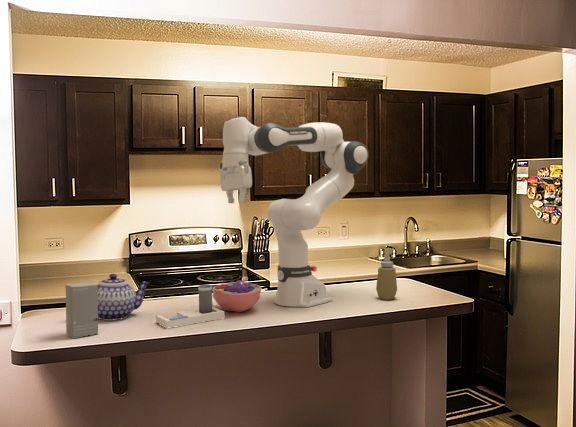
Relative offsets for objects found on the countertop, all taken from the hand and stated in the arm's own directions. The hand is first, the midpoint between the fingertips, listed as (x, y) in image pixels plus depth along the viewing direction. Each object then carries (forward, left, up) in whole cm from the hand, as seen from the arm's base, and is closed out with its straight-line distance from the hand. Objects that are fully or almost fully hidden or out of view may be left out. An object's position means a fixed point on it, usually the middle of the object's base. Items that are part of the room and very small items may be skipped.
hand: (236, 202), depth 207 cm
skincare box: (+52, -5, -39) cm, 66 cm away
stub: (+12, 0, -39) cm, 41 cm away
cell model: (-2, -3, -39) cm, 39 cm away
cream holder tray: (+18, 0, -39) cm, 43 cm away
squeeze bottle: (-58, +16, -39) cm, 71 cm away
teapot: (+37, -20, -39) cm, 58 cm away
